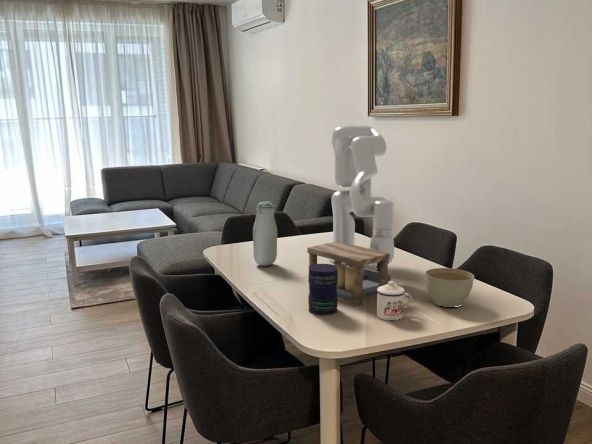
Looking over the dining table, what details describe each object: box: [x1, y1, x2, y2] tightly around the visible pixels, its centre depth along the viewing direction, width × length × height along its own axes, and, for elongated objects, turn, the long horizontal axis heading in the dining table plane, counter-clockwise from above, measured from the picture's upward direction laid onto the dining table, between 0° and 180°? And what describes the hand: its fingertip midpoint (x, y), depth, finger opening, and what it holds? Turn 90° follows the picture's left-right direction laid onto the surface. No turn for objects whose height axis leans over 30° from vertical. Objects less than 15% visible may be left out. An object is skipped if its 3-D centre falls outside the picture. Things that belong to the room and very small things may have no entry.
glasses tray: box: [335, 264, 392, 301], centre depth 212 cm, size 22×13×10 cm, turn 132°
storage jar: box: [307, 263, 339, 317], centre depth 189 cm, size 10×10×15 cm
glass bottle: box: [252, 200, 278, 267], centre depth 244 cm, size 10×10×28 cm
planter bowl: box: [425, 267, 475, 308], centre depth 195 cm, size 16×16×11 cm
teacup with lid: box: [376, 280, 413, 321], centre depth 184 cm, size 12×9×12 cm
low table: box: [306, 241, 390, 307], centre depth 208 cm, size 16×26×16 cm, turn 41°
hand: (381, 278), depth 221 cm, fingers closed
